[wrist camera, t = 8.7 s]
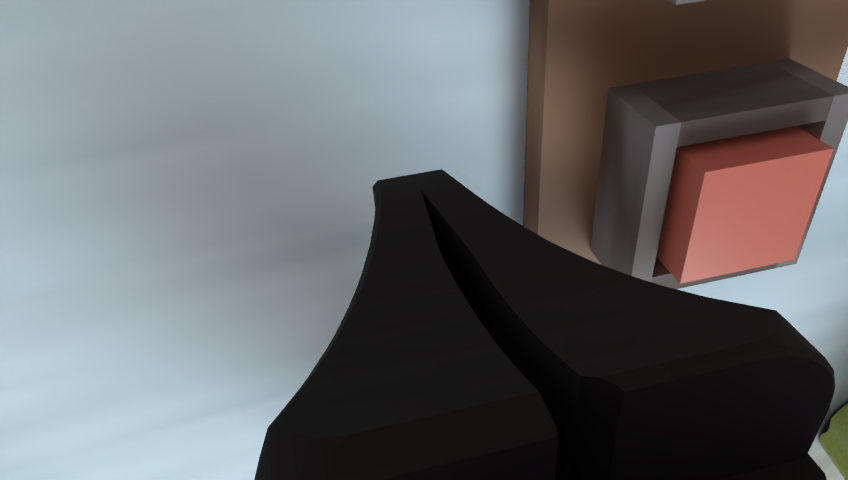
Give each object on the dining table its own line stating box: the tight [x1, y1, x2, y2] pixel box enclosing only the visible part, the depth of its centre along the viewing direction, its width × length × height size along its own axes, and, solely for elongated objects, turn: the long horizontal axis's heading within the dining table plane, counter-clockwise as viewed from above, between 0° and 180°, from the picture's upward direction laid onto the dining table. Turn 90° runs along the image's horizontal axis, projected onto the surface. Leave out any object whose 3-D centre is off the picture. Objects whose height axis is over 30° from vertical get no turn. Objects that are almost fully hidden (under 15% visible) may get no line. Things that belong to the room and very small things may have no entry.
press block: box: [523, 0, 848, 289], centre depth 19 cm, size 22×11×4 cm, turn 4°
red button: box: [656, 126, 834, 284], centre depth 21 cm, size 4×4×3 cm
